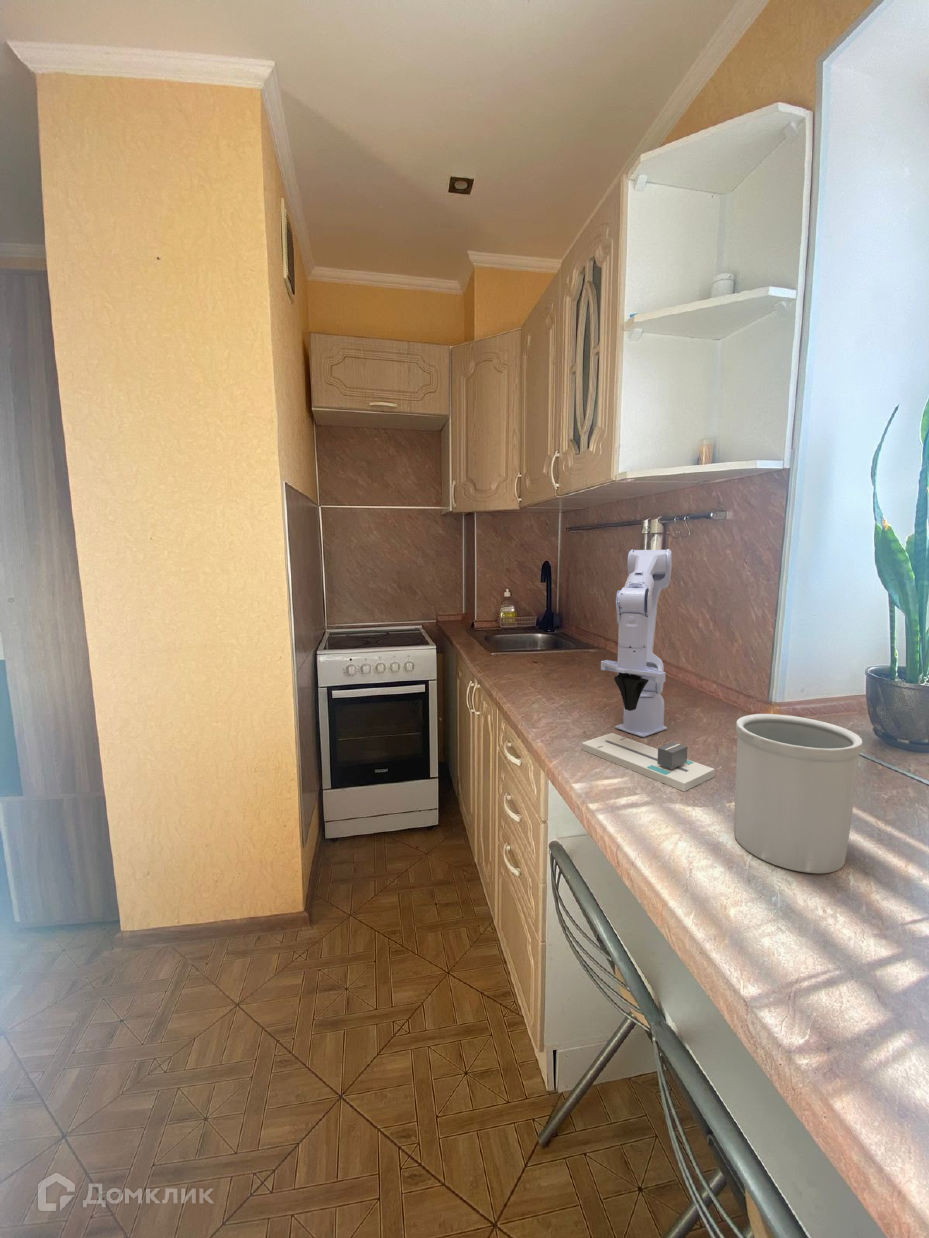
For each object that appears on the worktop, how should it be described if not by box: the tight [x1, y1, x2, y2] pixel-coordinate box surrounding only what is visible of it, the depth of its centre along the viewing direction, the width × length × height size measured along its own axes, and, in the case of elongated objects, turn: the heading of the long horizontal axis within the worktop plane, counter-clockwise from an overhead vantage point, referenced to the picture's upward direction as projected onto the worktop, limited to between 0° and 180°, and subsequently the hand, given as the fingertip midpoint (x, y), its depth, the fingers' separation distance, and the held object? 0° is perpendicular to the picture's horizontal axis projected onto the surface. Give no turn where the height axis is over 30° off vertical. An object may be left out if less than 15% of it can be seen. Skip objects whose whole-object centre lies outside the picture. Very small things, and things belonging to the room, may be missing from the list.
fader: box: [657, 741, 689, 769], centre depth 97 cm, size 5×3×3 cm, turn 125°
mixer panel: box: [580, 732, 716, 792], centre depth 103 cm, size 10×24×2 cm, turn 35°
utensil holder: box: [733, 713, 863, 874], centre depth 73 cm, size 15×15×18 cm
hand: (630, 709), depth 107 cm, fingers closed
